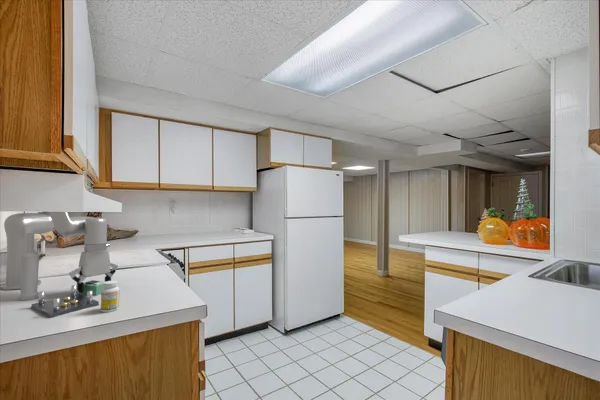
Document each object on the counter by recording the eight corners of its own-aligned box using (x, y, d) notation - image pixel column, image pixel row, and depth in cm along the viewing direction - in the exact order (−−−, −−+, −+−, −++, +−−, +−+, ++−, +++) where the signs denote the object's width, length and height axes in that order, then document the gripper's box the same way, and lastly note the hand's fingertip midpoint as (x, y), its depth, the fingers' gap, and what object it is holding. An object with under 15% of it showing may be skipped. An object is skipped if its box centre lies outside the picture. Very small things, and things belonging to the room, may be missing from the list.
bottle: (40, 297, 110) (42, 232, 111) (22, 301, 106) (24, 234, 106) (35, 295, 113) (36, 232, 113) (17, 299, 109) (19, 233, 109)
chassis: (31, 307, 100) (31, 292, 100) (78, 296, 112) (78, 283, 112) (50, 317, 92) (50, 301, 92) (98, 304, 104) (99, 290, 104)
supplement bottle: (112, 312, 97) (113, 284, 97) (96, 312, 97) (97, 284, 97) (122, 306, 103) (123, 280, 103) (107, 306, 103) (108, 279, 103)
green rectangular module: (78, 294, 116) (79, 282, 116) (92, 289, 122) (93, 279, 122) (96, 296, 114) (96, 284, 114) (109, 291, 120) (110, 280, 120)
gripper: (113, 244, 128) (112, 282, 127) (66, 249, 113) (65, 293, 113) (122, 246, 124) (121, 285, 124) (74, 251, 109) (73, 296, 109)
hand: (94, 289), depth 118 cm, fingers open, 9 cm apart
